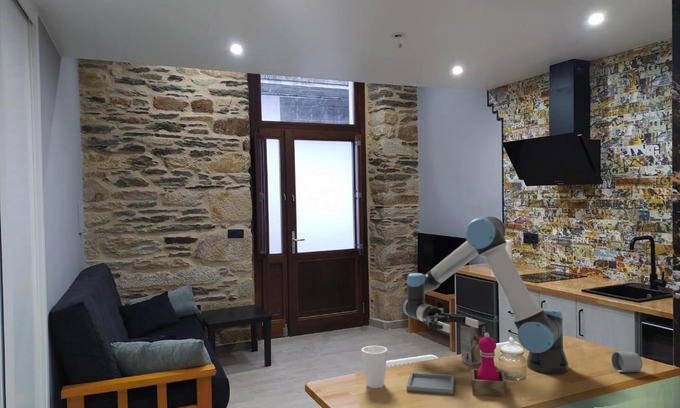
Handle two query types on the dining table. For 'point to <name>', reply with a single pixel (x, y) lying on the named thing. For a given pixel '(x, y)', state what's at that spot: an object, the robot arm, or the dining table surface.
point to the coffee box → (471, 342)
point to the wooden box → (488, 385)
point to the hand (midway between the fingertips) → (463, 326)
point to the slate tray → (430, 383)
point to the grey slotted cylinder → (626, 361)
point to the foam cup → (374, 365)
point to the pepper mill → (487, 359)
